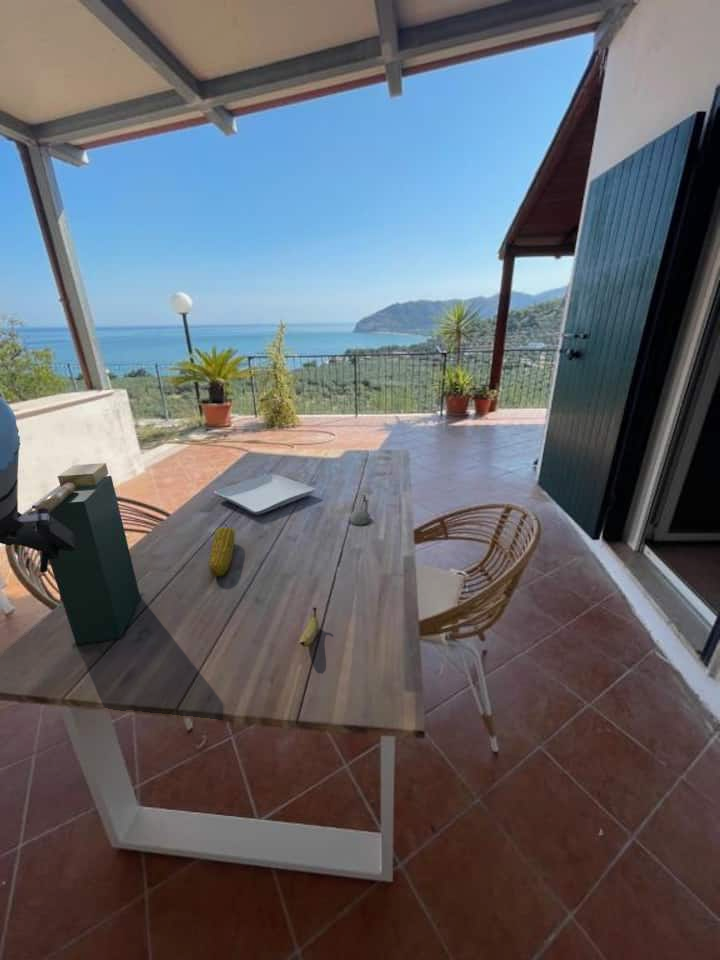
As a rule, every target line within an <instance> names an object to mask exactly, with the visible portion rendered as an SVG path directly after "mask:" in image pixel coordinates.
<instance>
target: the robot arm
mask: <svg viewBox="0 0 720 960" xmlns="http://www.w3.org/2000/svg"><path fill="white" fill-rule="evenodd" d="M20 447H21V436H20V435H19V427H18V425H17V418H16V415H15V413H14V411H13V409H12V407H11V406H10V405H9V403H8V402H7V401H5V400H4V398H2V397H1V396H0V544H1V545H5V546H9V547H10V546H14V545H18V546H22V547H25V548H29V549H32V550H36V551H39V552H40V554H39V555H40V556H39V558H40V559H39V561H40V562H39V565H40V566H39V569H40V571H39V573H47V572H48V565H49V559H56V558H59V550H61V549H64V550H65V551H72V550H74V549H75V542H74V533H73V532H71V531H70V530H69V529H67V528H66V527H65V526H63V525H62V524H61V523H59V522H58V521H57V520H55V519H54V518H53V517H51V516H50V513H49V509H47V508H40V509H38V510H37V514H33V515H27V514H22V513H21V512H19V511H18V510H19V507H18V506H19V500H18V499H19V498H18V494H19V493H18V492H19V488H18V487H19V480H18V476H19V451H20Z"/></svg>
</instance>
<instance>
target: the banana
mask: <svg viewBox="0 0 720 960" xmlns="http://www.w3.org/2000/svg"><path fill="white" fill-rule="evenodd" d="M312 610H313V615H312V617H311V619H310V621H309V623H308V625H307V626H306V628H305V630H303V631H304V632H303V634H302V635H301V637H300V638H299V640H298V643H299V644H300V645H301V646H303V647H309V646H310V645H311V644H312V643H313V641H314V640H315V638H316V636H317V633H318V630H319V620H318V618H317V607H313V608H312Z"/></svg>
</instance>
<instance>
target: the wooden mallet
mask: <svg viewBox="0 0 720 960" xmlns="http://www.w3.org/2000/svg"><path fill="white" fill-rule="evenodd" d="M105 476H109V470H108V466H107V463H106V462H101V463H87V464H74V465H72V466H70V467H69V468H67V469H66V470H64V471H63V472H61V473H60V474H59V475H57V480H58V482H59V485H60V486H61V487H60V488H59V489H58V490H56V491H55V492H54V493H52V494H51V495H50V496H48V497H47V498H46V499H44V500H43V501H42V502H40V503H39V504H38V505H36V506H35V507H34V508H32V507H31V509H30V510H29V511H27V514H26V515H33V514H37V510H38V509H40V508H47V509H49V512H51V511H52V510H53V509H54V508H55V507H57V506H58V505H59V504H60V503H61V502H63V501H64V500H65V499H66V498H67V497H69V496H70V495H71V494H72V493H73V492H74V491H75V490H76V487H78V486H91V485H97V484H98V483H99V482H100V481H101V480H102V479H103V478H104V477H105Z"/></svg>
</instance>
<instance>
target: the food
mask: <svg viewBox="0 0 720 960" xmlns="http://www.w3.org/2000/svg"><path fill="white" fill-rule="evenodd" d="M235 537H236V536H235V532H234V530H233V528H231V527H229V526H220V527H219V528H218V529H216V531H215V533H214V535H213V543H212V546H211V552H210V558H209V570H210V573H211V574H212V576H214V577H221V576H223V575H224V574H226V572H227V571H228V569H229V567H230V564H231V562H232V557H233V553H234V546H235Z"/></svg>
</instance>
